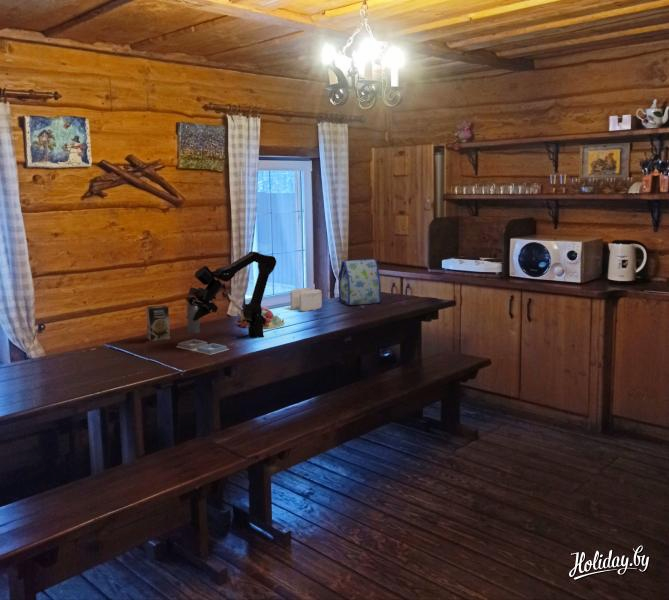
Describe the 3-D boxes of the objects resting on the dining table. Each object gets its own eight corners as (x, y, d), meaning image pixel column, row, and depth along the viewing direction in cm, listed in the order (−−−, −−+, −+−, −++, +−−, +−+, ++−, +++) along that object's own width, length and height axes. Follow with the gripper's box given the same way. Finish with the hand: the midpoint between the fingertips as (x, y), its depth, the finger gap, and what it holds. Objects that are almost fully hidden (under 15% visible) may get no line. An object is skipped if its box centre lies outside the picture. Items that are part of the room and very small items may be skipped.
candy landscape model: (229, 328, 343) (228, 310, 341) (248, 318, 365) (248, 301, 363) (275, 330, 335) (274, 312, 334) (292, 321, 357) (291, 303, 356)
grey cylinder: (199, 330, 303) (197, 304, 301) (200, 333, 298) (198, 306, 296) (187, 331, 301) (186, 304, 299) (188, 333, 297) (187, 306, 295)
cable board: (175, 348, 301) (175, 343, 301) (195, 343, 310) (194, 338, 309) (210, 356, 287) (210, 351, 287) (229, 351, 296) (229, 345, 295)
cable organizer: (311, 306, 394) (310, 287, 392) (322, 309, 386) (322, 289, 384) (290, 310, 385) (289, 290, 383) (301, 312, 377) (301, 292, 375)
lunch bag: (369, 299, 416) (369, 256, 411) (382, 303, 401) (382, 259, 396) (336, 302, 406) (336, 259, 401) (349, 307, 391) (348, 262, 387)
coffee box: (150, 343, 312) (148, 308, 309) (147, 340, 318) (145, 306, 315) (170, 340, 316) (168, 306, 314) (167, 337, 322) (165, 304, 319)
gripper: (187, 278, 305) (167, 305, 300) (210, 282, 291) (189, 311, 286) (204, 293, 312) (184, 320, 306) (226, 298, 298) (206, 326, 293)
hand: (190, 319), depth 298 cm, fingers closed on grey cylinder, 5 cm apart
